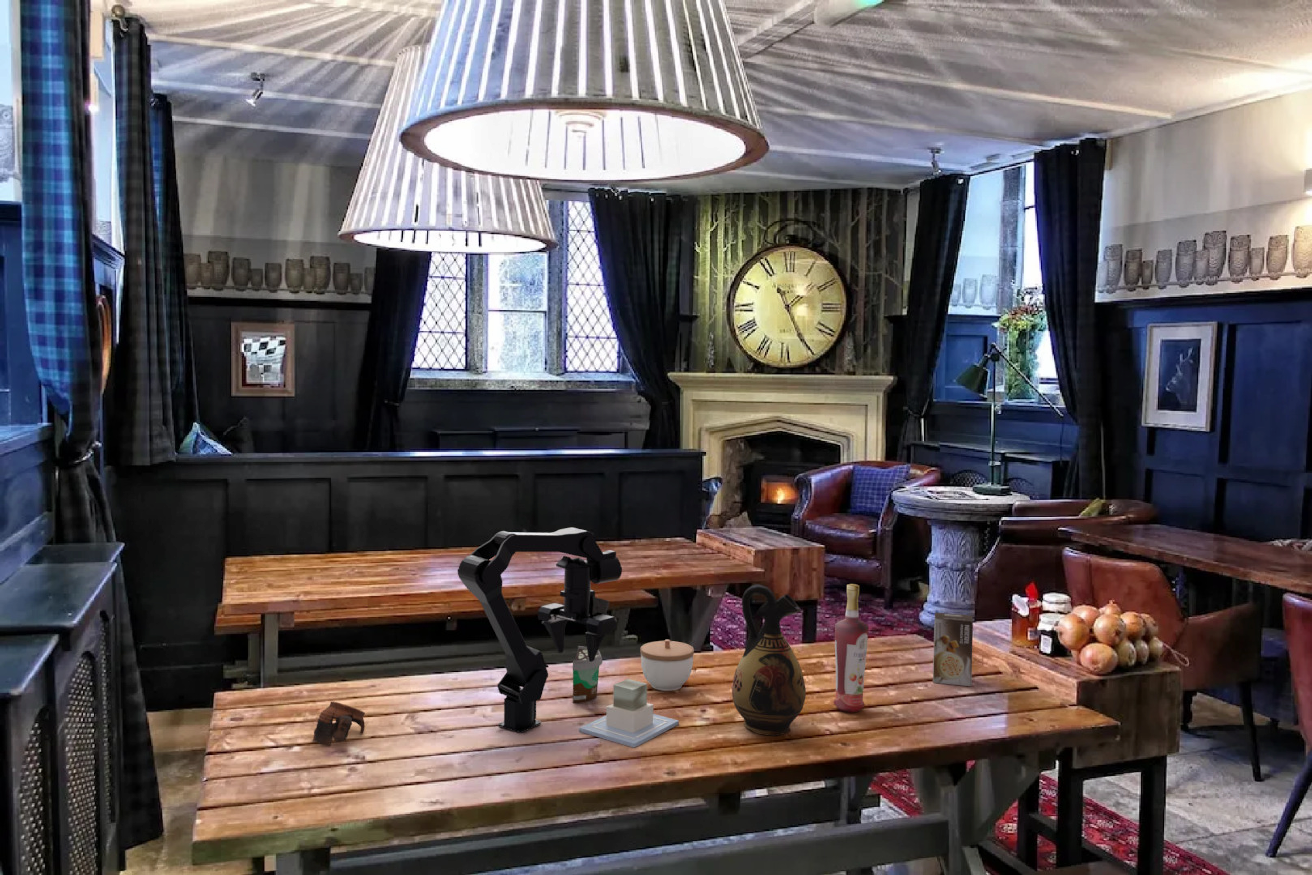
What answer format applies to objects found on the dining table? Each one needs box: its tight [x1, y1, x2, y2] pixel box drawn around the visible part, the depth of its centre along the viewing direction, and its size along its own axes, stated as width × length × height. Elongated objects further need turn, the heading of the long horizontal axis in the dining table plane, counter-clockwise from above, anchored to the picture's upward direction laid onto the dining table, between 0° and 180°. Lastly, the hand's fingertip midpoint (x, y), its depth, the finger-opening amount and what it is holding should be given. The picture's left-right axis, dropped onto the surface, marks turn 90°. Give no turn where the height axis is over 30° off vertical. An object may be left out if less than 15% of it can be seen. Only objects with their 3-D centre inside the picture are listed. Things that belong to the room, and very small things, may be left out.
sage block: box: [612, 678, 648, 711], centre depth 207 cm, size 5×5×4 cm
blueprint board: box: [578, 702, 680, 748], centre depth 207 cm, size 16×14×5 cm
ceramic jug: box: [731, 584, 807, 737], centre depth 209 cm, size 17×15×30 cm
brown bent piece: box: [312, 701, 366, 747], centre depth 199 cm, size 12×10×8 cm
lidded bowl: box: [639, 639, 695, 692], centre depth 234 cm, size 13×13×11 cm
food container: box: [572, 645, 603, 704], centre depth 226 cm, size 12×6×10 cm, turn 179°
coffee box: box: [932, 612, 974, 687], centre depth 242 cm, size 9×6×16 cm
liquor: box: [833, 583, 869, 714], centre depth 220 cm, size 7×7×28 cm
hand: (576, 656), depth 217 cm, fingers open, 9 cm apart
